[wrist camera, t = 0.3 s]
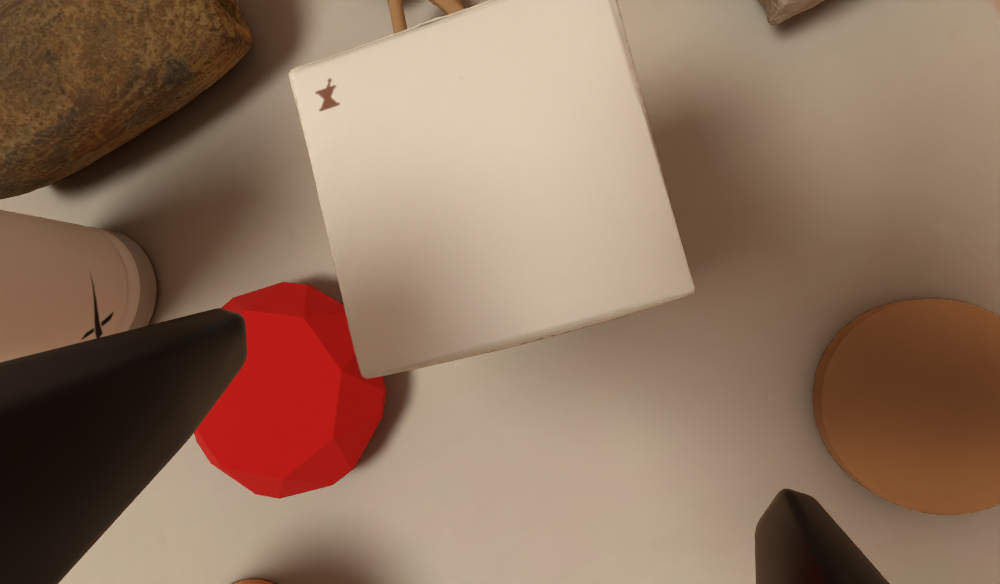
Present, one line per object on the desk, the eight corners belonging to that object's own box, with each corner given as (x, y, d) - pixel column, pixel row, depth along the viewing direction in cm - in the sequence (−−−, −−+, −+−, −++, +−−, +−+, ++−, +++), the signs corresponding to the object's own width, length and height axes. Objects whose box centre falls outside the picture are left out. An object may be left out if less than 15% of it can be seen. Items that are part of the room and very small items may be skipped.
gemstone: (196, 317, 26) (145, 317, 23) (366, 264, 25) (336, 257, 22) (237, 502, 25) (190, 527, 22) (415, 457, 24) (391, 476, 21)
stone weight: (60, 238, 27) (-109, 212, 21) (3, 130, 28) (-175, 71, 22) (291, 65, 26) (190, -24, 19) (223, -45, 27) (104, -165, 20)
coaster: (1074, 482, 20) (1095, 489, 19) (848, 527, 21) (859, 535, 20) (999, 275, 20) (1016, 273, 20) (785, 329, 22) (793, 329, 21)
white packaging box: (472, 352, 24) (345, 388, 11) (434, 192, 24) (274, 58, 12) (638, 311, 22) (705, 301, 10) (594, 146, 23) (605, -57, 11)
